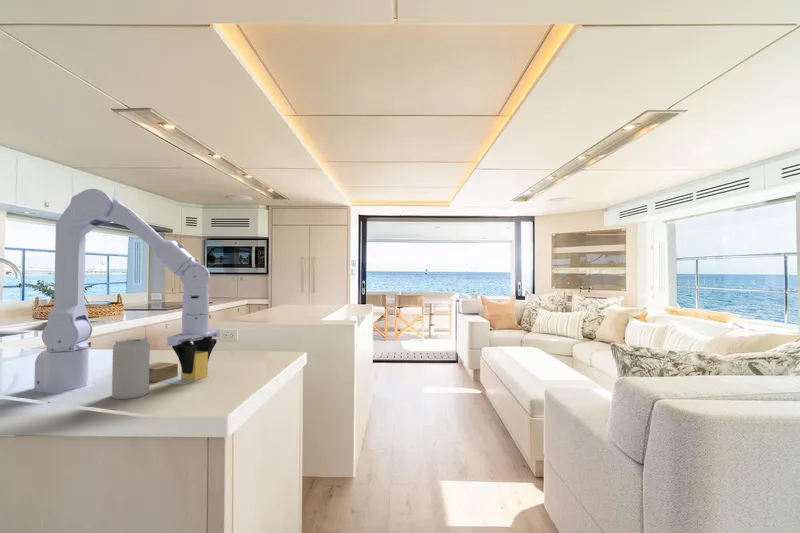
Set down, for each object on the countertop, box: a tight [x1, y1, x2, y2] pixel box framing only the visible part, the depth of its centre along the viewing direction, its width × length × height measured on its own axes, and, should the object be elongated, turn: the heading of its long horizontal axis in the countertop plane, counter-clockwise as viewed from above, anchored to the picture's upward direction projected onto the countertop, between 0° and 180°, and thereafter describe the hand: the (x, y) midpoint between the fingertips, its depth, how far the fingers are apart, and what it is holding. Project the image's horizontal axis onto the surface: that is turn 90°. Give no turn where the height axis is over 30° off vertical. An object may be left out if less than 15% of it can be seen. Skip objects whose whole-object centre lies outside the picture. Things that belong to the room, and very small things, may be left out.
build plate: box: [159, 372, 209, 385], centre depth 98 cm, size 12×8×1 cm, turn 74°
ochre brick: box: [180, 351, 209, 381], centre depth 99 cm, size 4×4×6 cm
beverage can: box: [111, 337, 151, 400], centre depth 85 cm, size 6×6×12 cm
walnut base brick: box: [149, 361, 179, 383], centre depth 98 cm, size 6×6×3 cm
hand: (194, 371), depth 99 cm, fingers closed on ochre brick, 4 cm apart
